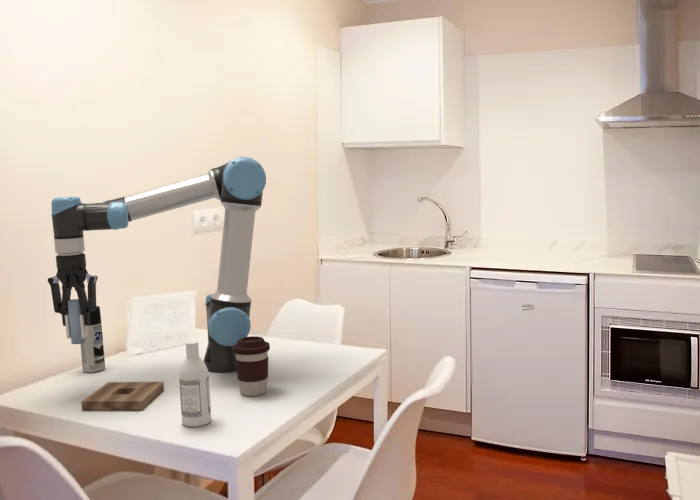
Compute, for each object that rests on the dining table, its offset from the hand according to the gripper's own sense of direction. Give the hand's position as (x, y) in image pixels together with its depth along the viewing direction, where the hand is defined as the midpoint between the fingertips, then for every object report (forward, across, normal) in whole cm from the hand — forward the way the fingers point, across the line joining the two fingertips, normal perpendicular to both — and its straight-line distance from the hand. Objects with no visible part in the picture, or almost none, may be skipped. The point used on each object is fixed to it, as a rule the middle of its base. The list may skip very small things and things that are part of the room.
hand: (77, 336), depth 188 cm
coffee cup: (+17, -49, 0) cm, 51 cm away
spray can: (+16, +7, -22) cm, 28 cm away
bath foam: (+17, -40, +22) cm, 48 cm away
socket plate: (+16, -15, +6) cm, 23 cm away
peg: (+2, 0, 0) cm, 2 cm away
